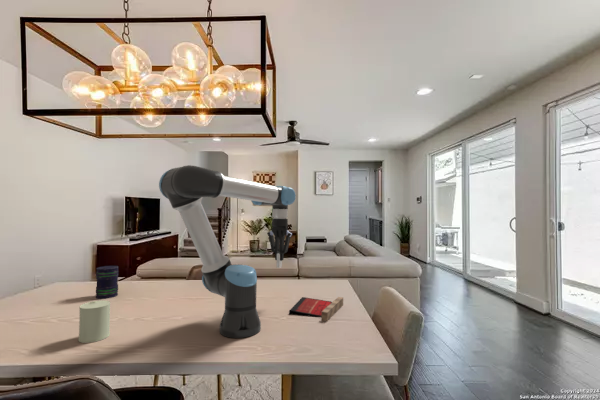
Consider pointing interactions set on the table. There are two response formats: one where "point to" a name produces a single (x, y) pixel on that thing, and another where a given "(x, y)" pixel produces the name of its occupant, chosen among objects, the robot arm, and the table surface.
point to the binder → (309, 307)
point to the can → (94, 321)
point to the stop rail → (332, 309)
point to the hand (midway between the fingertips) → (279, 267)
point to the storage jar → (107, 282)
